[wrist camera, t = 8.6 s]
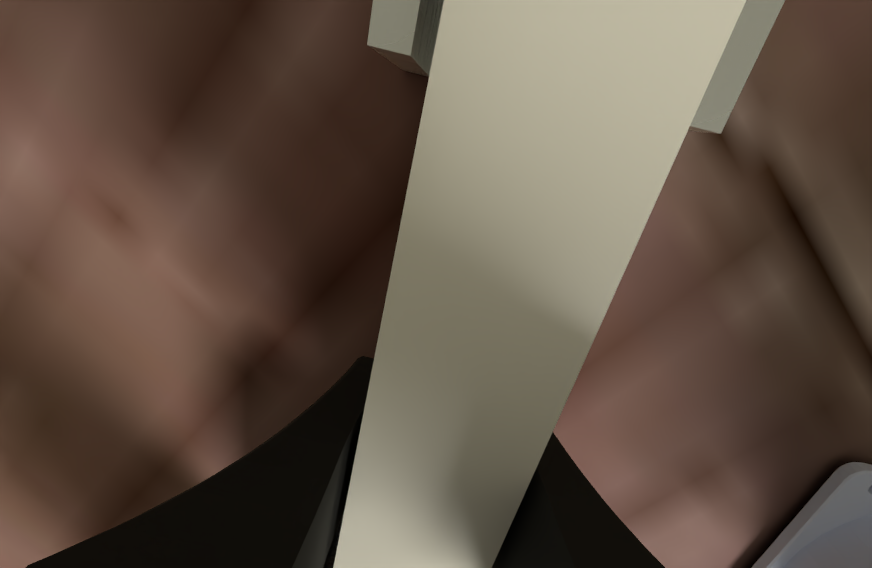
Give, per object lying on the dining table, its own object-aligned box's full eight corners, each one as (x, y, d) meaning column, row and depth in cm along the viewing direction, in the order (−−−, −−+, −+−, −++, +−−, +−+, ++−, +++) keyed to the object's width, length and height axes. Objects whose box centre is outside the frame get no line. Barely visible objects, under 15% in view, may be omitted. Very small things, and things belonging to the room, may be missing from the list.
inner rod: (662, -91, 7) (892, -327, 3) (446, 523, 13) (440, 682, 10) (492, -136, 7) (527, -433, 3) (357, 504, 13) (315, 656, 9)
